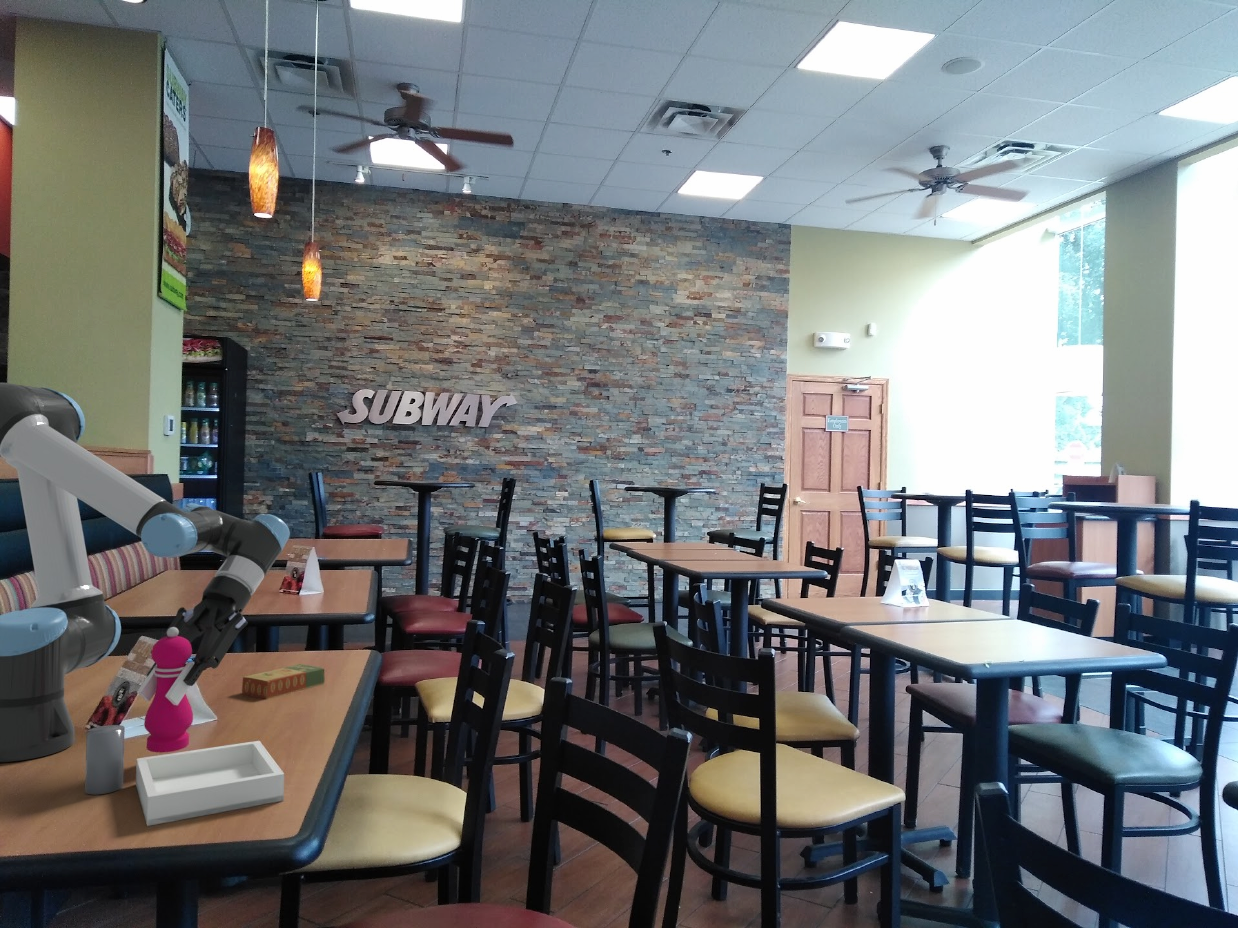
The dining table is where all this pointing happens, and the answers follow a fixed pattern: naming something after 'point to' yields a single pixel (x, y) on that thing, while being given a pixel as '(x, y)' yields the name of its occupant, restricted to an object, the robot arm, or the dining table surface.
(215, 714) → the dining table surface
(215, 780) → the tray
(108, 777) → the grey rounded pillar
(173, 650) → the pepper mill
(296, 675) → the carton
